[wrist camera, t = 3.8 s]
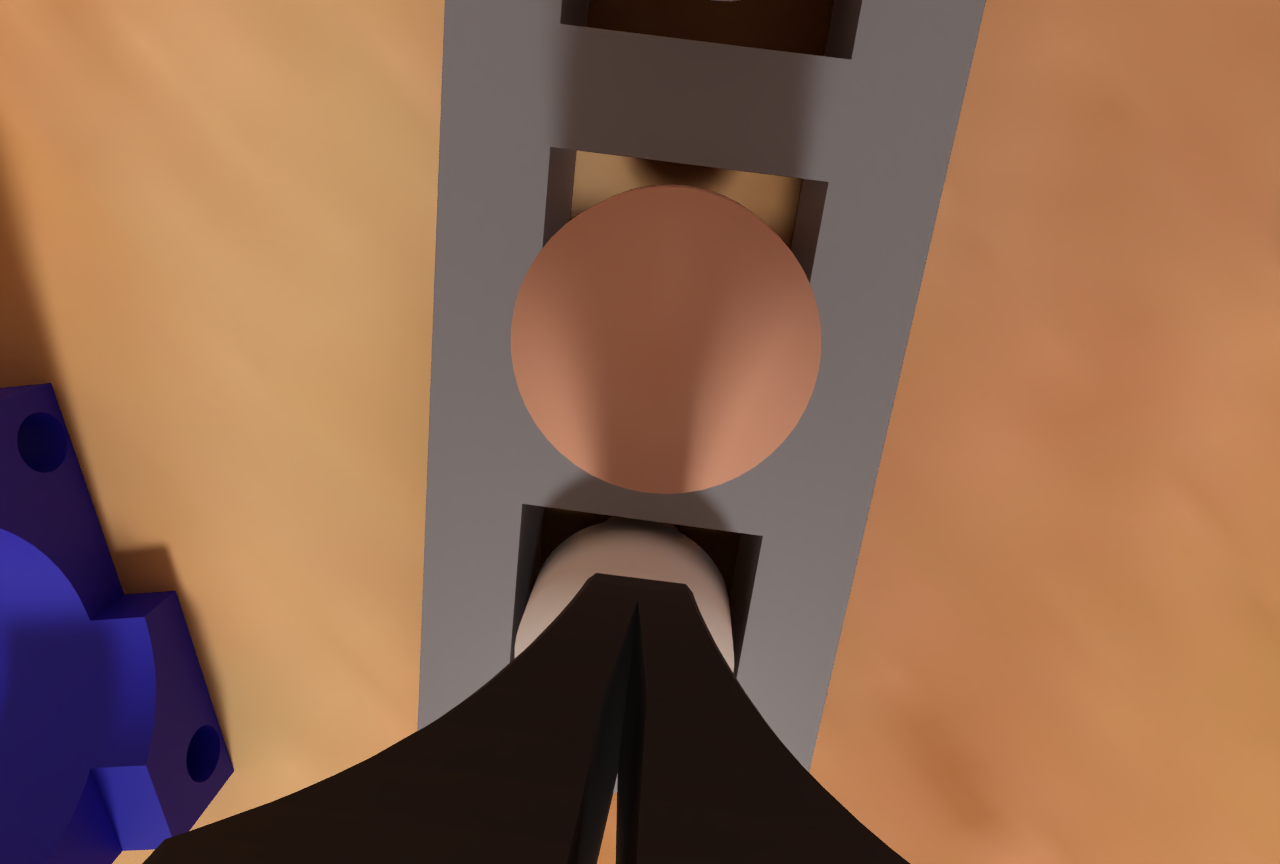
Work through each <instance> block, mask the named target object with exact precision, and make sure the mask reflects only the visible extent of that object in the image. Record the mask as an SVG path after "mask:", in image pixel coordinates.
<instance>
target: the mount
mask: <svg viewBox="0 0 1280 864" xmlns="http://www.w3.org/2000/svg"><path fill="white" fill-rule="evenodd" d="M589 2H590V0H445V13H444V39H443V66H442V93H441V120H440V146H439V173H438V200H437V227H436V253H435V280H434V307H433V334H432V361H431V387H430V414H429V441H428V468H427V494H426V521H425V548H424V575H423V601H422V628H421V655H420V682H419V708H418V731H419V730H420V729H422V728H424V727H426V726H427V725H429V724H431V723H432V722H434V721H435V720H437V719H438V718H440V717H441V716H443V715H444V714H445V713H447V712H448V711H450V710H451V709H453V708H454V707H455V706H457V705H458V704H460V703H461V702H462V701H464V700H465V699H466V698H468V697H469V696H470V695H472V694H473V693H474V692H476V691H477V690H478V689H479V688H481V687H482V686H483V685H485V684H486V683H487V682H488V681H490V680H491V679H492V678H493V677H494V676H495V675H497V674H498V673H499V672H500V671H501V670H502V669H503V668H504V667H506V666H507V665H508V664H509V663H510V662H511V661H512V660H514V659H515V641H516V635H517V632H518V629H519V625H520V622H521V620H522V617H523V614H524V612H525V609H526V606H527V603H528V601H529V598H530V595H531V593H532V590H533V587H534V584H535V582H536V579H537V576H538V574H539V565H540V554H541V543H542V531H543V520H544V509H545V507H551V508H558V509H566V510H573V511H581V512H588V513H595V514H603V515H610V516H618V517H625V518H633V519H640V520H648V521H655V522H663V523H670V524H677V525H685V526H692V527H700V528H707V529H715V530H722V531H730V532H737V533H741V534H740V540H739V546H738V551H737V557H736V563H735V568H734V574H733V580H732V585H731V591H730V597H729V605H730V616H731V628H732V639H733V651H734V672H733V674H734V675H735V677H736V679H737V680H738V682H739V683H740V685H741V686H742V688H743V689H744V691H745V693H746V694H747V696H748V697H749V698H750V700H751V701H752V703H753V704H754V705H755V707H756V708H757V710H758V711H759V713H760V714H761V715H762V717H763V718H764V720H765V721H766V722H767V724H768V725H769V726H770V728H771V729H772V730H773V731H774V733H775V734H776V735H777V737H778V738H779V739H780V740H781V742H782V743H783V744H784V745H785V746H786V747H787V749H788V750H789V751H790V752H791V753H792V754H793V756H794V757H795V758H796V759H797V760H798V761H799V762H800V764H801V765H802V766H803V767H804V768H805V769H806V770H807V771H808V772H809V769H810V765H811V761H812V756H813V752H814V748H815V743H816V739H817V735H818V730H819V726H820V722H821V717H822V713H823V708H824V704H825V700H826V695H827V691H828V687H829V682H830V678H831V674H832V669H833V665H834V661H835V656H836V652H837V647H838V643H839V639H840V634H841V630H842V626H843V621H844V617H845V613H846V608H847V604H848V599H849V595H850V591H851V586H852V582H853V578H854V573H855V569H856V565H857V560H858V556H859V552H860V547H861V543H862V538H863V534H864V530H865V525H866V521H867V517H868V512H869V508H870V504H871V499H872V495H873V491H874V486H875V482H876V477H877V473H878V469H879V464H880V460H881V456H882V451H883V447H884V443H885V438H886V434H887V430H888V425H889V421H890V416H891V412H892V408H893V403H894V399H895V395H896V390H897V386H898V382H899V377H900V373H901V368H902V364H903V360H904V355H905V351H906V347H907V342H908V338H909V334H910V329H911V325H912V321H913V316H914V312H915V307H916V303H917V299H918V294H919V290H920V286H921V281H922V277H923V273H924V268H925V264H926V260H927V255H928V251H929V246H930V242H931V238H932V233H933V229H934V225H935V220H936V216H937V212H938V207H939V203H940V199H941V194H942V190H943V185H944V181H945V177H946V172H947V168H948V164H949V159H950V155H951V151H952V146H953V142H954V137H955V133H956V129H957V124H958V120H959V116H960V111H961V107H962V103H963V98H964V94H965V90H966V85H967V81H968V76H969V72H970V68H971V63H972V59H973V55H974V50H975V46H976V42H977V37H978V33H979V29H980V24H981V20H982V15H983V11H984V7H985V2H986V0H834V4H833V10H832V16H831V22H830V27H829V33H828V39H827V44H826V50H825V56H817V55H809V54H801V53H793V52H785V51H777V50H769V49H761V48H752V47H744V46H736V45H728V44H720V43H712V42H704V41H696V40H687V39H679V38H671V37H663V36H655V35H647V34H639V33H631V32H623V31H614V30H606V29H598V28H590V27H587V24H588V13H589ZM576 150H579V151H587V152H595V153H603V154H611V155H619V156H627V157H635V158H643V159H650V160H658V161H666V162H674V163H682V164H690V165H698V166H706V167H714V168H722V169H730V170H738V171H746V172H754V173H762V174H769V175H777V176H785V177H793V178H801V179H803V181H802V187H801V192H800V198H799V204H798V210H797V215H796V221H795V227H794V232H793V238H792V244H791V249H790V250H791V251H792V253H793V254H794V256H795V257H796V259H797V260H798V262H799V264H800V265H801V267H802V269H803V270H804V272H805V274H806V276H807V279H808V281H809V283H810V286H811V288H812V290H813V293H814V297H815V300H816V304H817V307H818V312H819V318H820V325H821V357H820V365H819V372H818V376H817V379H816V383H815V387H814V390H813V393H812V395H811V398H810V400H809V402H808V405H807V407H806V409H805V411H804V413H803V414H802V416H801V418H800V420H799V421H798V423H797V425H796V426H795V427H794V429H793V430H792V431H791V433H790V434H789V435H788V437H787V438H786V439H785V441H784V442H783V443H782V444H781V445H780V446H779V447H778V448H777V449H776V450H775V451H774V452H773V453H772V454H771V455H769V456H768V457H767V458H766V459H764V460H763V461H762V462H761V463H759V464H758V465H757V466H755V467H754V468H752V469H750V470H749V471H747V472H745V473H744V474H742V475H740V476H739V477H736V478H734V479H732V480H730V481H727V482H725V483H723V484H720V485H717V486H714V487H710V488H707V489H704V490H698V491H693V492H687V493H674V494H658V493H645V492H640V491H635V490H630V489H626V488H622V487H619V486H616V485H613V484H610V483H608V482H605V481H603V480H601V479H599V478H597V477H595V476H592V475H591V474H589V473H587V472H586V471H584V470H583V469H581V468H579V467H578V466H576V465H575V464H573V463H572V462H571V461H570V460H568V459H567V458H566V457H565V456H563V455H562V454H561V453H560V452H559V451H558V450H557V449H556V448H555V447H554V446H553V445H552V444H551V443H550V442H549V441H548V440H547V439H546V437H545V436H544V435H543V433H542V432H541V431H540V429H539V428H538V427H537V425H536V424H535V422H534V421H533V419H532V417H531V415H530V413H529V412H528V410H527V408H526V406H525V404H524V401H523V399H522V397H521V394H520V392H519V389H518V386H517V382H516V378H515V374H514V371H513V364H512V356H511V325H512V317H513V310H514V307H515V303H516V299H517V296H518V292H519V289H520V287H521V285H522V282H523V280H524V278H525V275H526V273H527V271H528V270H529V268H530V266H531V265H532V263H533V261H534V259H535V258H536V256H537V255H538V253H539V252H540V251H541V250H542V248H543V247H544V246H545V245H546V243H547V242H548V241H549V240H550V238H551V237H552V236H554V235H555V234H556V233H557V232H558V231H559V230H560V229H561V228H562V227H563V226H564V225H565V224H566V223H568V222H569V221H570V216H571V205H572V193H573V182H574V171H575V159H576ZM617 780H618V774H617V778H616V783H615V787H614V791H613V792H616V793H617Z"/></svg>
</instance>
